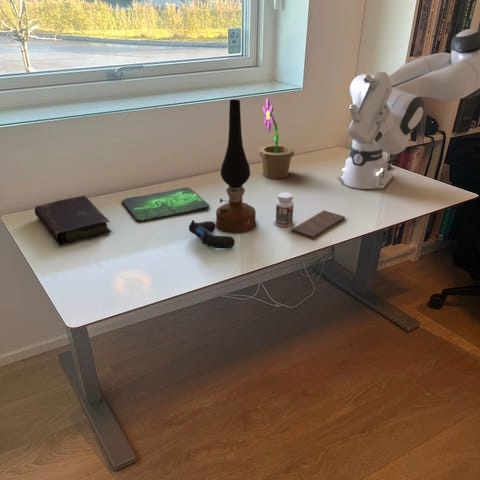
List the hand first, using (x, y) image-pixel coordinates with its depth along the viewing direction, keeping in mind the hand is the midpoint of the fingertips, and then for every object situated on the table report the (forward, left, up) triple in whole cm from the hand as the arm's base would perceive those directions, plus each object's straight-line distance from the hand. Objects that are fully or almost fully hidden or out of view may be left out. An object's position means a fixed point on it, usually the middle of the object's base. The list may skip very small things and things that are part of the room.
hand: (359, 91), depth 145 cm
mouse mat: (+25, -60, -42) cm, 77 cm away
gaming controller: (+37, -27, -42) cm, 62 cm away
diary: (+57, -70, -42) cm, 99 cm away
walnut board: (+5, -7, -42) cm, 42 cm away
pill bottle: (+11, -17, -42) cm, 46 cm away
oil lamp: (+22, -29, -42) cm, 55 cm away
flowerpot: (-27, -48, -42) cm, 69 cm away
